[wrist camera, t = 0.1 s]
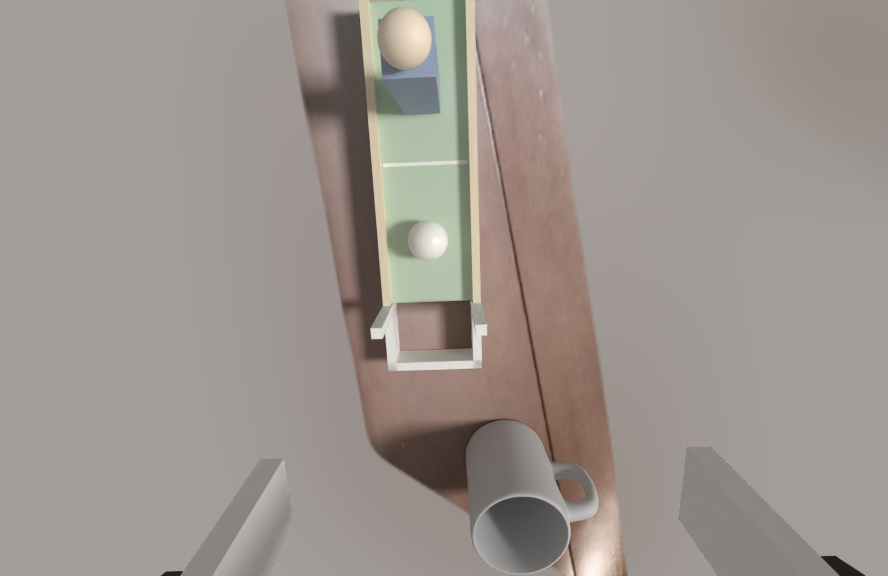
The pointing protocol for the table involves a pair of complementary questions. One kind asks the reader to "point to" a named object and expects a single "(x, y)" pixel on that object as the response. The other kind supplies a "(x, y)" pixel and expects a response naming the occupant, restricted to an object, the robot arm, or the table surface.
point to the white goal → (429, 358)
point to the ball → (427, 240)
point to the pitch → (426, 160)
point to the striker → (410, 60)
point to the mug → (520, 499)
